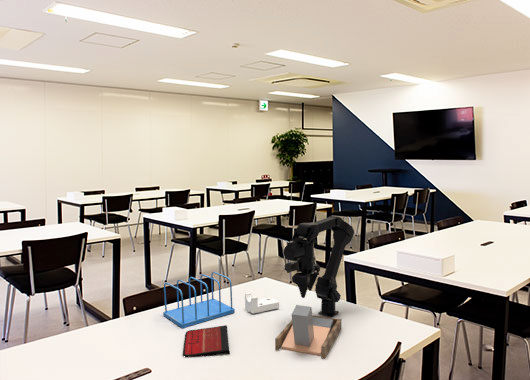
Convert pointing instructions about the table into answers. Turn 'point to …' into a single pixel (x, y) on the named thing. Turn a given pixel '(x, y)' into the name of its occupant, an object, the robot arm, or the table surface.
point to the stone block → (303, 325)
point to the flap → (320, 334)
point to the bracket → (259, 304)
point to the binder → (206, 342)
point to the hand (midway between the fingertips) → (306, 294)
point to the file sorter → (198, 306)
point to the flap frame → (325, 346)
